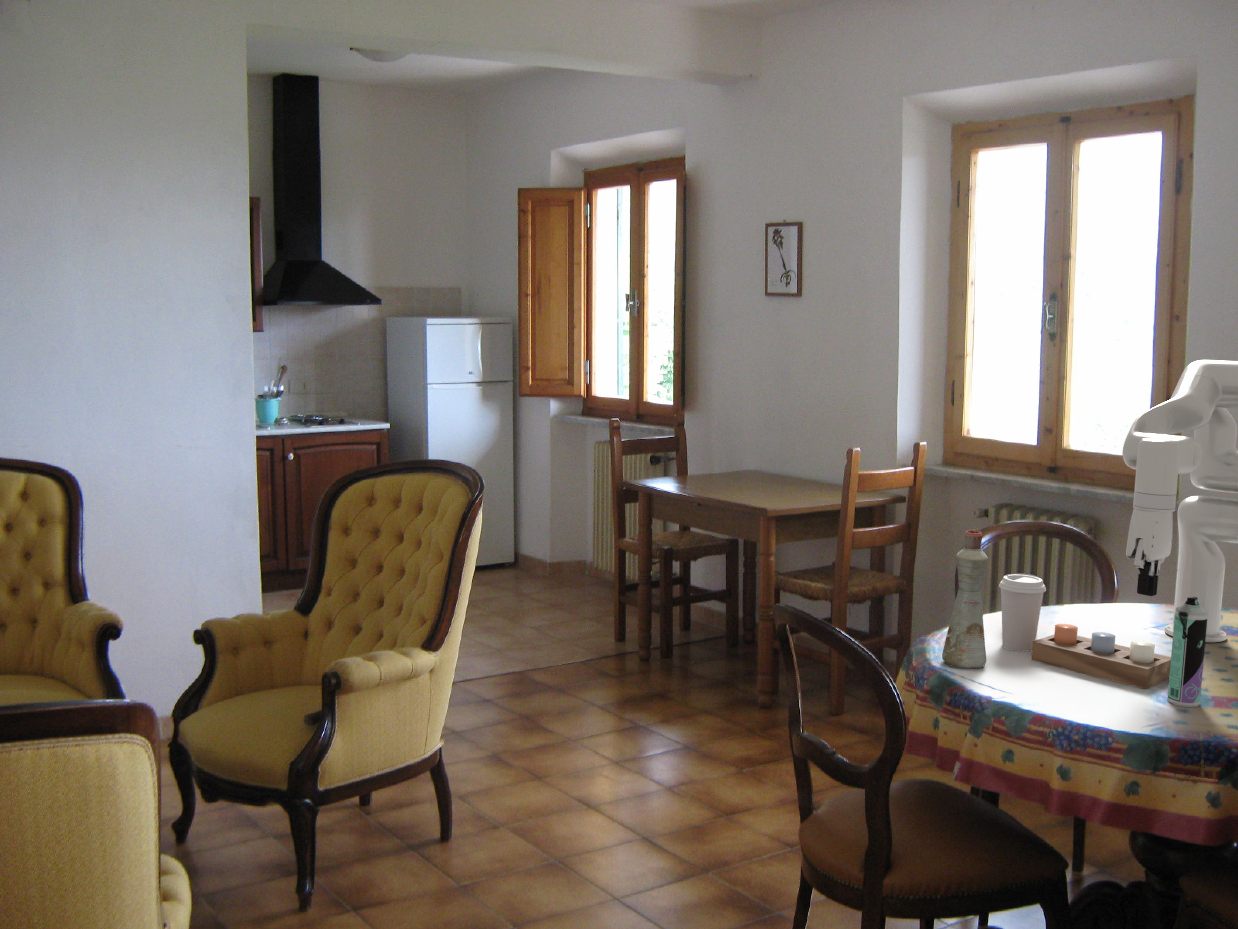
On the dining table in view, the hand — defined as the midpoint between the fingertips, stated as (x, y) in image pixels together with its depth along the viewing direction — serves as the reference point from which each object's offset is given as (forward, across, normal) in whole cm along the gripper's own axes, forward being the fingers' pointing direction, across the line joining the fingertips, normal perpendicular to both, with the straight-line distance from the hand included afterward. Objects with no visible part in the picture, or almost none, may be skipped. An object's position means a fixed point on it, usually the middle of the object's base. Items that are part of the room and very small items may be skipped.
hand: (1146, 594), depth 237 cm
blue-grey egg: (+15, 0, -8) cm, 17 cm away
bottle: (+17, +20, -27) cm, 38 cm away
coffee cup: (+17, -1, -27) cm, 32 cm away
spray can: (+17, +8, +12) cm, 22 cm away
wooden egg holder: (+17, 0, -8) cm, 19 cm away
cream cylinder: (+15, 0, 0) cm, 15 cm away
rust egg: (+15, 0, -16) cm, 22 cm away
